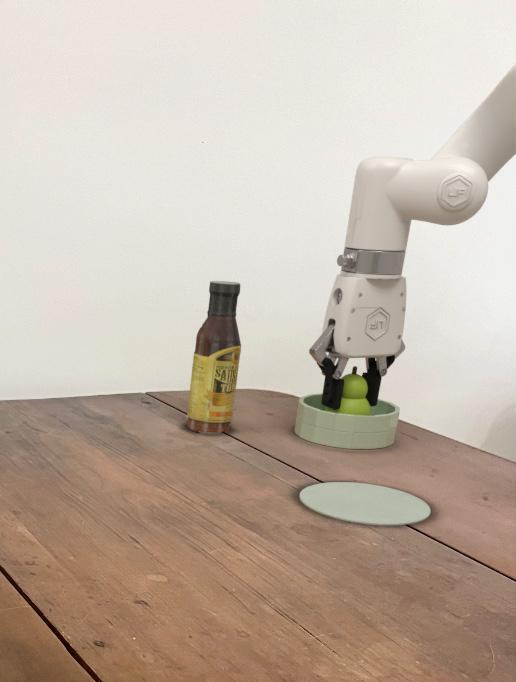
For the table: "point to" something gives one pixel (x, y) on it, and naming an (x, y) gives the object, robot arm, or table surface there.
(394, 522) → the mat
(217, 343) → the sauce bottle
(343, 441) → the bowl
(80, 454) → the table surface
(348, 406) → the pear
